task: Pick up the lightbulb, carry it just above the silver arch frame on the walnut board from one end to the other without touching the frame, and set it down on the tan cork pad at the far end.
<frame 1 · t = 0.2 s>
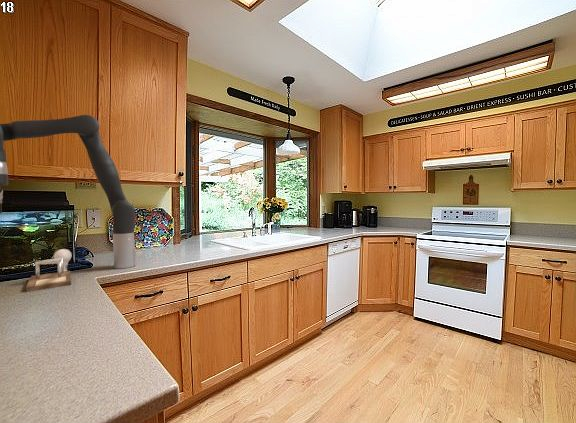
walnut board: (50, 281, 112), on the worktop
cork pad: (51, 281, 108), resting on walnut board
silver arch frame: (51, 279, 115), resting on walnut board
lightbulb: (63, 272, 127), on the worktop
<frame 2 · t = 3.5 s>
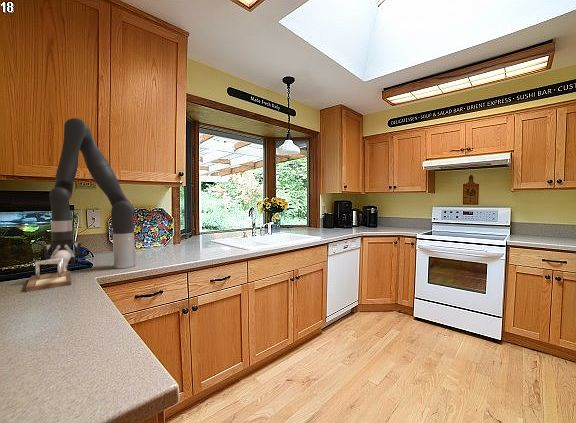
hand: (63, 265, 127), 3 cm above the worktop, tool pointing down, fingers closed on lightbulb, 6 cm apart
lightbulb: (63, 272, 127), on the worktop, touching gripper
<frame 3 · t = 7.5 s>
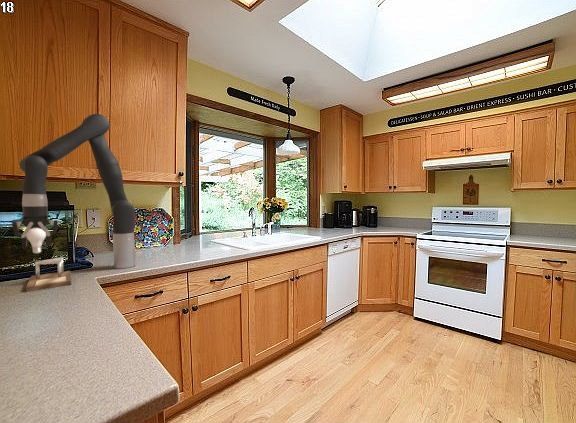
hand: (36, 245, 111), 15 cm above the worktop, tool pointing down, fingers closed on lightbulb, 6 cm apart
lightbulb: (37, 253, 112), point 12 cm above the worktop, touching gripper
when the fingers open (6 cm above the worktop, at t = 11.8 s): lightbulb stays where it is, resting on cork pad.
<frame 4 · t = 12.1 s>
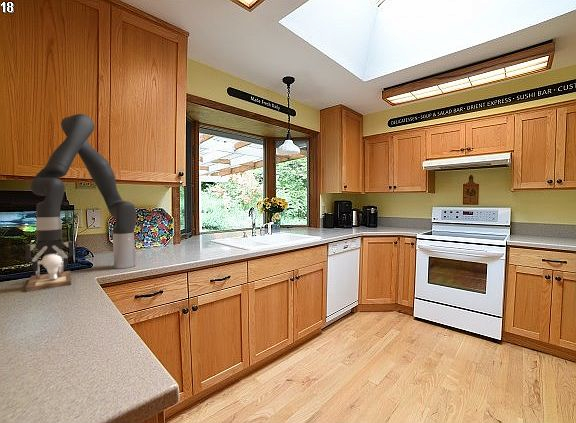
hand: (50, 268, 108), 7 cm above the worktop, tool pointing down, fingers open, 8 cm apart
lightbulb: (53, 280, 108), point 2 cm above the worktop, touching cork pad
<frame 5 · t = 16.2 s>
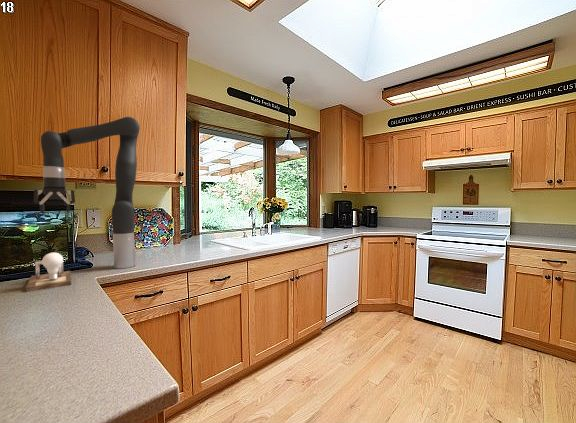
hand: (55, 212, 123), 28 cm above the worktop, tool pointing down, fingers open, 8 cm apart
nothing on the worktop moved.
at the end: lightbulb 0.6 cm off-centre on the cork pad, point 0.3 cm above the cork pad's base; lightbulb tilted 0°; lightbulb touching cork pad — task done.
